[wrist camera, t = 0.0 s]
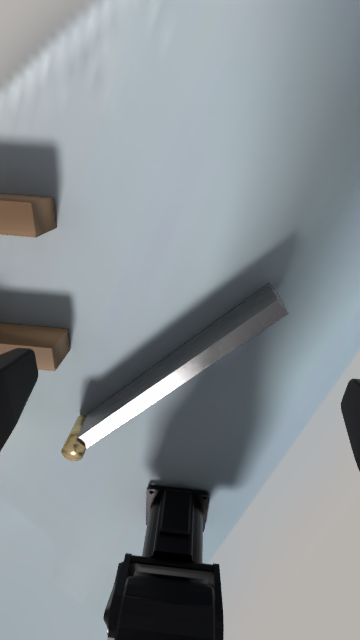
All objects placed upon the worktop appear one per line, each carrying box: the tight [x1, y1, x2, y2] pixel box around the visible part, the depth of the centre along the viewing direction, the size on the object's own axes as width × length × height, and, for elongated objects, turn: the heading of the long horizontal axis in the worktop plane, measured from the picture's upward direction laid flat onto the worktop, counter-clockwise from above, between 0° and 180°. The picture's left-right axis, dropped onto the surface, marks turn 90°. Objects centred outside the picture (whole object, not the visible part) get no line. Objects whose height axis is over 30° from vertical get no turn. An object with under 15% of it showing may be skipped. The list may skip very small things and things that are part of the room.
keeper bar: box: [62, 283, 288, 461], centre depth 25 cm, size 21×2×4 cm, turn 132°
